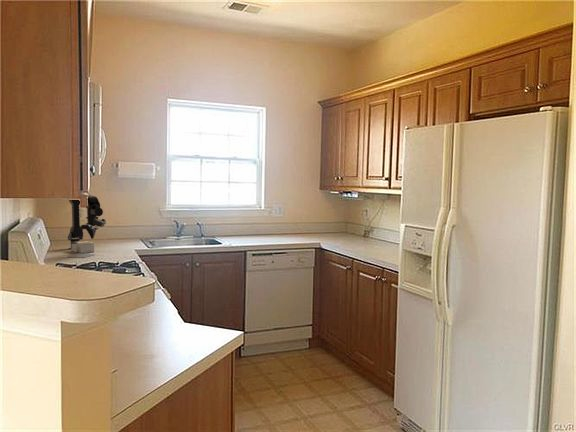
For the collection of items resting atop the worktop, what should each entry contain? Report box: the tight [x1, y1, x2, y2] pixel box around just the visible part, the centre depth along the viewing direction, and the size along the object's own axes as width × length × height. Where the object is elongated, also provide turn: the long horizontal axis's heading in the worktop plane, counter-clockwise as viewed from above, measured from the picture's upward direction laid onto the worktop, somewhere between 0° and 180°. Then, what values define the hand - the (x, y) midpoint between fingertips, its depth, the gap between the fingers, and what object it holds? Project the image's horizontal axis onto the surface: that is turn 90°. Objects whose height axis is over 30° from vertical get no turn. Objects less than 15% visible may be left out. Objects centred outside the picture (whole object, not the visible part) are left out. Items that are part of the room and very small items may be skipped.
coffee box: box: [70, 240, 95, 254], centre depth 331 cm, size 9×6×16 cm
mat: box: [67, 253, 96, 259], centre depth 313 cm, size 12×12×1 cm
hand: (92, 238), depth 325 cm, fingers closed
